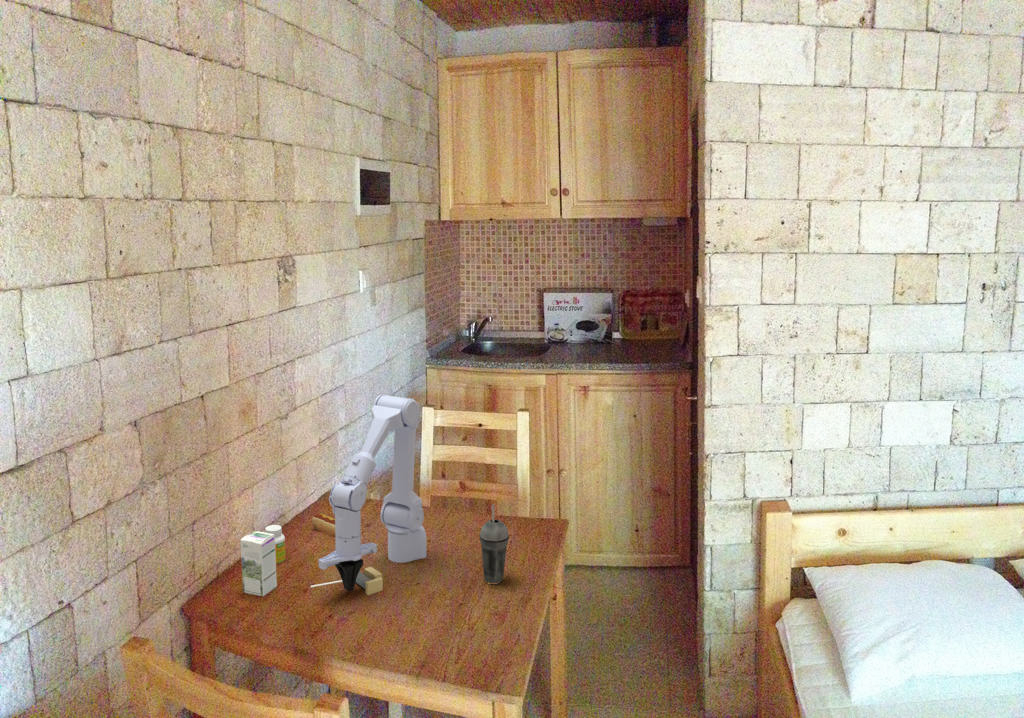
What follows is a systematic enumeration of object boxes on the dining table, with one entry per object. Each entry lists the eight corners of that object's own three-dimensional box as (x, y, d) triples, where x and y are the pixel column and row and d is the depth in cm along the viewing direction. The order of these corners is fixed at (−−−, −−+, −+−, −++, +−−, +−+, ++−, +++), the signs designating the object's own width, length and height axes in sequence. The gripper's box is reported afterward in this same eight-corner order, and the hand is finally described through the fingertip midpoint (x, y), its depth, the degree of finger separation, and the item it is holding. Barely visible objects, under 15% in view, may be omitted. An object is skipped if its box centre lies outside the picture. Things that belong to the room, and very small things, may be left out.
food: (308, 531, 230) (307, 514, 229) (323, 525, 235) (323, 509, 234) (341, 545, 222) (340, 527, 221) (356, 539, 226) (356, 521, 225)
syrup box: (278, 590, 196) (276, 532, 193) (262, 602, 190) (260, 542, 187) (257, 586, 197) (255, 529, 195) (241, 597, 192) (239, 538, 189)
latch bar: (339, 574, 202) (339, 564, 202) (352, 570, 204) (352, 560, 204) (362, 592, 193) (362, 582, 192) (376, 588, 195) (376, 578, 195)
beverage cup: (513, 577, 205) (515, 501, 201) (500, 589, 199) (502, 510, 195) (486, 571, 208) (488, 495, 204) (473, 583, 202) (474, 505, 198)
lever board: (368, 567, 209) (367, 550, 208) (390, 599, 193) (390, 581, 192) (304, 578, 202) (303, 560, 201) (321, 613, 186) (321, 594, 185)
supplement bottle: (279, 569, 207) (278, 533, 205) (259, 567, 208) (258, 530, 206) (289, 560, 212) (288, 524, 210) (269, 558, 213) (268, 522, 211)
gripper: (329, 547, 182) (331, 605, 185) (384, 530, 192) (384, 585, 195) (313, 538, 187) (314, 593, 190) (367, 522, 197) (367, 575, 200)
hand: (348, 588), depth 193 cm, fingers closed
